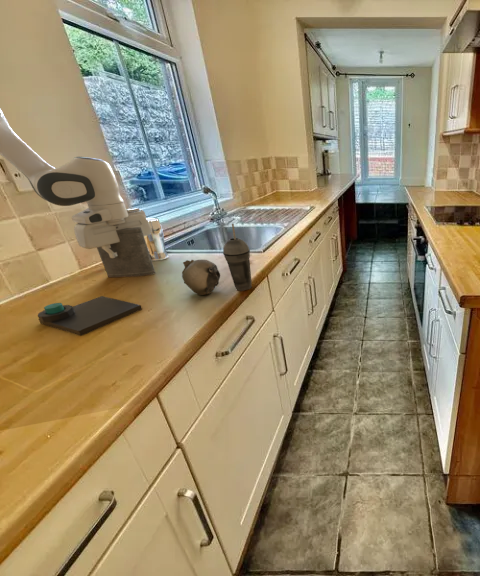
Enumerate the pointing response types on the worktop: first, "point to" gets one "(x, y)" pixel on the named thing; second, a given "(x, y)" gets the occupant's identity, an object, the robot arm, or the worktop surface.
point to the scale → (88, 315)
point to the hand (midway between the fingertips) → (124, 254)
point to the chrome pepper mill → (156, 241)
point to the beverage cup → (238, 262)
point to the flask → (128, 255)
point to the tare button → (54, 308)
